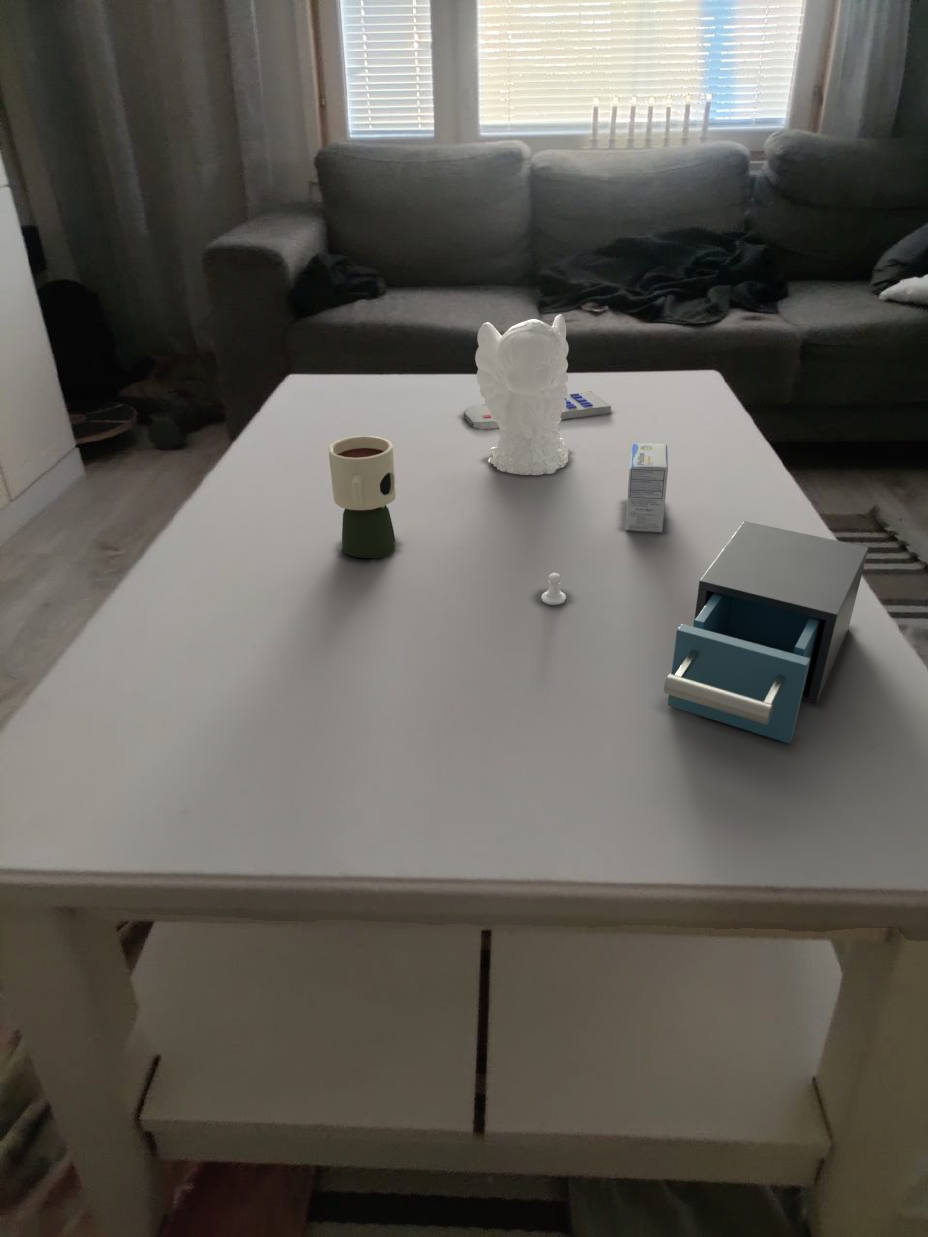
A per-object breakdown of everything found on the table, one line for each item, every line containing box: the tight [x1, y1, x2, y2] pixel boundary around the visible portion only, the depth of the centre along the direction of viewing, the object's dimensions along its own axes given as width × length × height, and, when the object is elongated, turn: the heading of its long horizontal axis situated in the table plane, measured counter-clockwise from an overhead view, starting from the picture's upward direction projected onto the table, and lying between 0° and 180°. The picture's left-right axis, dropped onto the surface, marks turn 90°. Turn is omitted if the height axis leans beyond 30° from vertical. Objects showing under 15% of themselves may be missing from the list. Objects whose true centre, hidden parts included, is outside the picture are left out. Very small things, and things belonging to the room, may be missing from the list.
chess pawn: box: [541, 572, 567, 606], centre depth 92 cm, size 3×3×4 cm
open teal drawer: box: [663, 593, 826, 744], centre depth 75 cm, size 18×10×8 cm, turn 149°
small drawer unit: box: [692, 520, 869, 704], centre depth 82 cm, size 14×12×10 cm
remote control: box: [463, 390, 612, 430], centre depth 142 cm, size 8×23×2 cm, turn 107°
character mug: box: [328, 435, 397, 560], centre depth 101 cm, size 11×7×13 cm, turn 178°
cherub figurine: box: [474, 314, 570, 476], centre depth 121 cm, size 13×12×20 cm
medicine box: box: [625, 442, 669, 533], centre depth 107 cm, size 8×4×9 cm, turn 170°
